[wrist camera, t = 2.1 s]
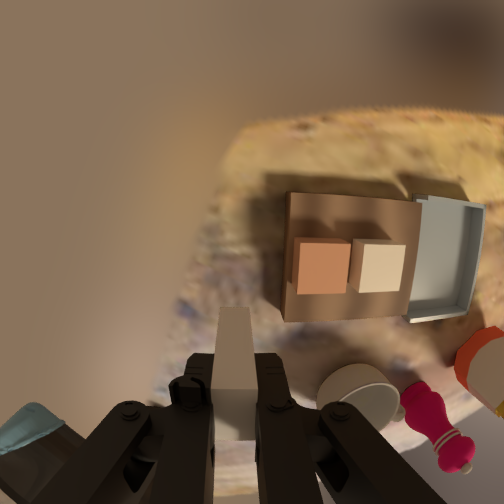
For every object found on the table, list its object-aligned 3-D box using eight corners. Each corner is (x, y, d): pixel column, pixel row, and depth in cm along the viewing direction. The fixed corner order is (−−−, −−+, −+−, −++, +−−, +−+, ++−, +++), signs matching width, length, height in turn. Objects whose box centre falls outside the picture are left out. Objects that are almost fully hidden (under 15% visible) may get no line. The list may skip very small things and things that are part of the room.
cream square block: (348, 283, 31) (358, 292, 28) (353, 238, 30) (364, 244, 27) (386, 282, 31) (399, 290, 28) (392, 239, 30) (405, 245, 27)
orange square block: (291, 284, 30) (297, 294, 28) (294, 237, 29) (300, 242, 26) (336, 283, 31) (345, 293, 28) (340, 238, 30) (350, 243, 27)
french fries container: (489, 335, 39) (548, 380, 21) (450, 374, 40) (505, 431, 22) (486, 320, 38) (551, 365, 20) (446, 361, 39) (506, 420, 21)
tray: (397, 312, 35) (409, 323, 32) (412, 193, 32) (428, 195, 28) (454, 305, 36) (467, 314, 33) (470, 202, 33) (486, 204, 29)
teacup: (295, 396, 38) (306, 435, 30) (343, 341, 36) (365, 375, 28) (359, 419, 40) (376, 451, 32) (403, 372, 38) (427, 401, 30)
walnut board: (280, 311, 34) (284, 322, 31) (286, 191, 31) (291, 192, 28) (395, 305, 35) (406, 314, 32) (409, 201, 32) (422, 202, 29)
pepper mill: (435, 386, 40) (493, 455, 20) (407, 414, 41) (456, 489, 21) (418, 373, 39) (483, 451, 19) (388, 404, 40) (440, 488, 20)
